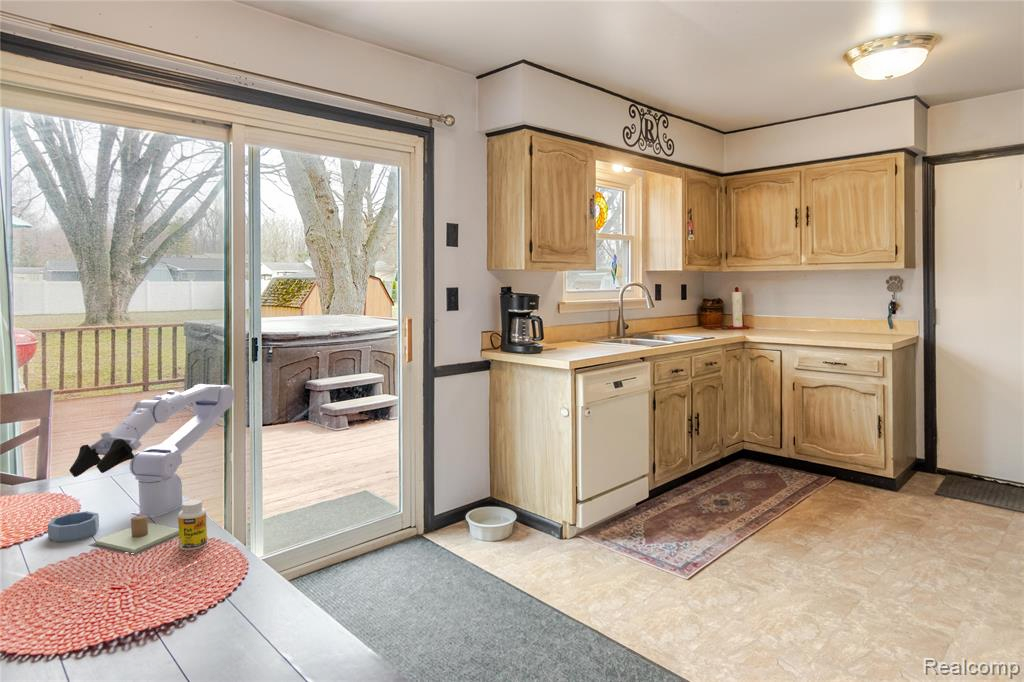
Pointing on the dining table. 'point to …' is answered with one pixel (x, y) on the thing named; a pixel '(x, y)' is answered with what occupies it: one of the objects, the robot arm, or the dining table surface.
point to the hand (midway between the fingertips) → (86, 471)
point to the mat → (131, 552)
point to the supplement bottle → (192, 525)
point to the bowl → (73, 526)
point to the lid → (138, 535)
